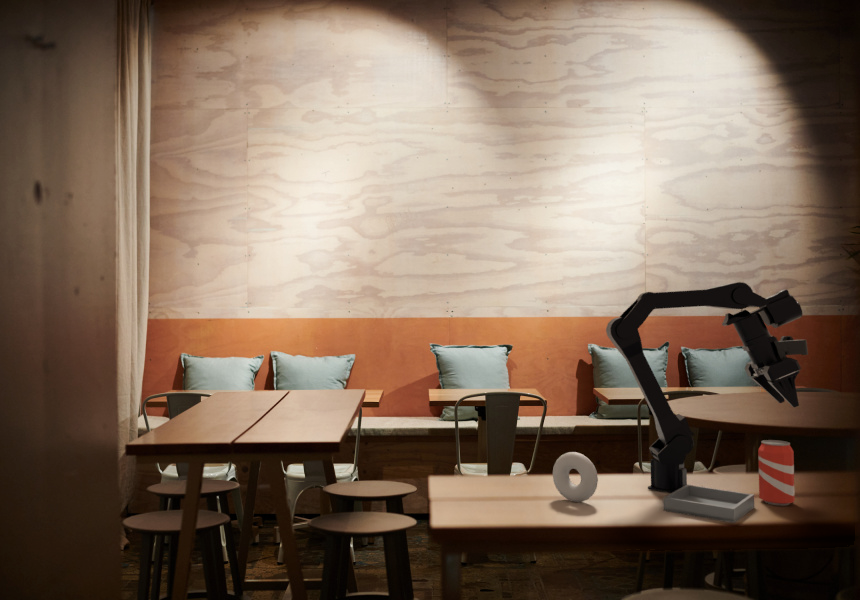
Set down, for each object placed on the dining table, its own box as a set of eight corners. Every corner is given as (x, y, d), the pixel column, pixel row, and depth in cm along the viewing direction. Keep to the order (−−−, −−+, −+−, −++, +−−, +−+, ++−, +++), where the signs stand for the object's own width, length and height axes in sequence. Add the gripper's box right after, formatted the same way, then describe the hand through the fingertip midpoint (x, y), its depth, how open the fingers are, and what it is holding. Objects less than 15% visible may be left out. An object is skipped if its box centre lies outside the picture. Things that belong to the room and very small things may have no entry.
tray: (663, 510, 133) (663, 497, 133) (687, 496, 143) (687, 484, 143) (734, 523, 125) (733, 509, 125) (754, 507, 134) (754, 494, 135)
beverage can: (797, 507, 134) (796, 445, 134) (761, 505, 136) (760, 444, 136) (791, 499, 140) (790, 440, 140) (757, 497, 142) (756, 438, 142)
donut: (601, 504, 138) (600, 454, 138) (592, 507, 135) (592, 456, 136) (558, 495, 145) (558, 447, 145) (549, 498, 142) (548, 450, 142)
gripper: (807, 320, 137) (844, 393, 135) (778, 322, 156) (810, 386, 154) (753, 343, 139) (789, 415, 137) (731, 342, 157) (762, 405, 155)
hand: (789, 404), depth 146 cm, fingers open, 9 cm apart
